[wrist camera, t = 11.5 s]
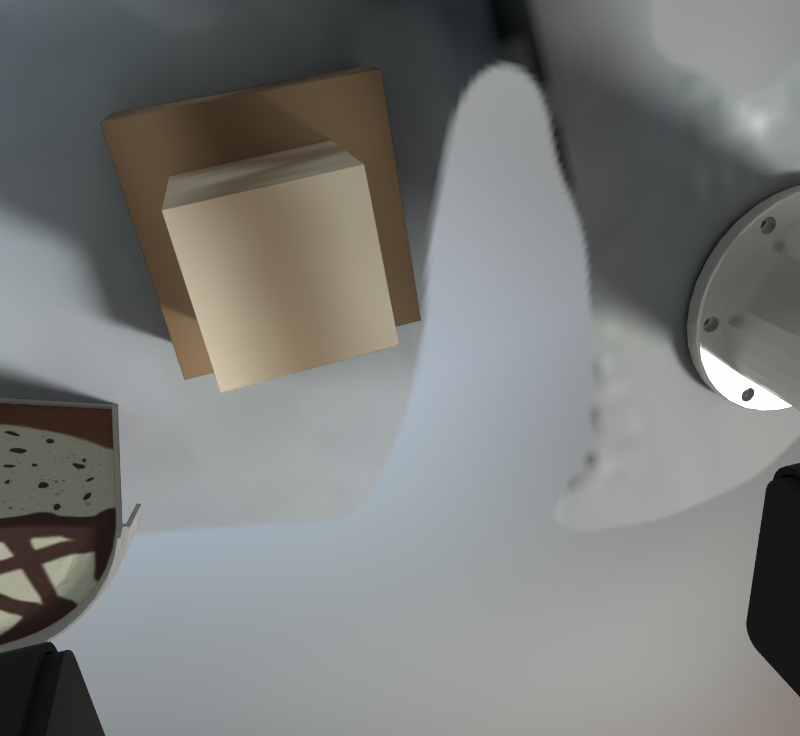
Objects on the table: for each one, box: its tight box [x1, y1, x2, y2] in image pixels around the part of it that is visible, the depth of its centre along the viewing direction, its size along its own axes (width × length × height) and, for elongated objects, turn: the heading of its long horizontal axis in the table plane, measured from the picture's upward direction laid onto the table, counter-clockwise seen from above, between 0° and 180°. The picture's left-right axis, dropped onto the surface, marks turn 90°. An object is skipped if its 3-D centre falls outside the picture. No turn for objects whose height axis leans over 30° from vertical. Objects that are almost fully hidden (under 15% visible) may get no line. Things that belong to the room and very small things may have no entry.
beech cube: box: [162, 140, 399, 392], centre depth 25 cm, size 6×6×6 cm
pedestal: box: [100, 66, 421, 380], centre depth 30 cm, size 10×10×4 cm
